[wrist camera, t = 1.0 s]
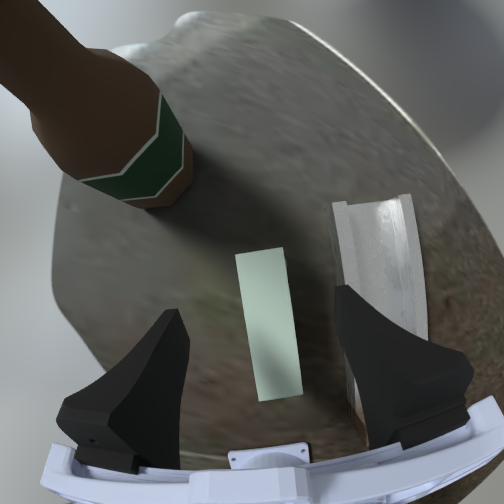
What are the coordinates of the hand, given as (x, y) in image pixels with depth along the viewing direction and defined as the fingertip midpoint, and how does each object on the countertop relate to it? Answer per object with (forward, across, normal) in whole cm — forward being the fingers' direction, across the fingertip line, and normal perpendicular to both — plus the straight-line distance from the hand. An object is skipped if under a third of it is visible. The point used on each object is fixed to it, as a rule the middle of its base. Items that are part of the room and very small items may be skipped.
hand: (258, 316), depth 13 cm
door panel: (+10, 0, +8) cm, 12 cm away
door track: (+9, -10, +10) cm, 17 cm away
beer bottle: (+16, +8, -4) cm, 19 cm away
